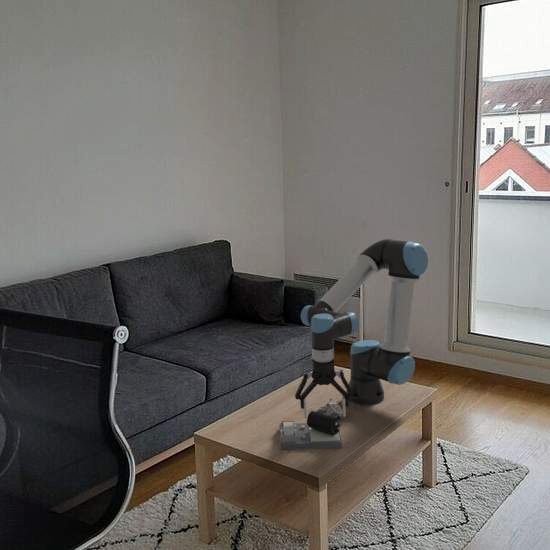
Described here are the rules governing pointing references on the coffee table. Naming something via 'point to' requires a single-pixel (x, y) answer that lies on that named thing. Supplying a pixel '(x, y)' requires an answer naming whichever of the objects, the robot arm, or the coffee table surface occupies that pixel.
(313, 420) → the end cap
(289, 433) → the off-white switch
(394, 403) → the coffee table surface
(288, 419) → the terracotta switch
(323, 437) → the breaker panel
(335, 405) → the game die
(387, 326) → the robot arm
